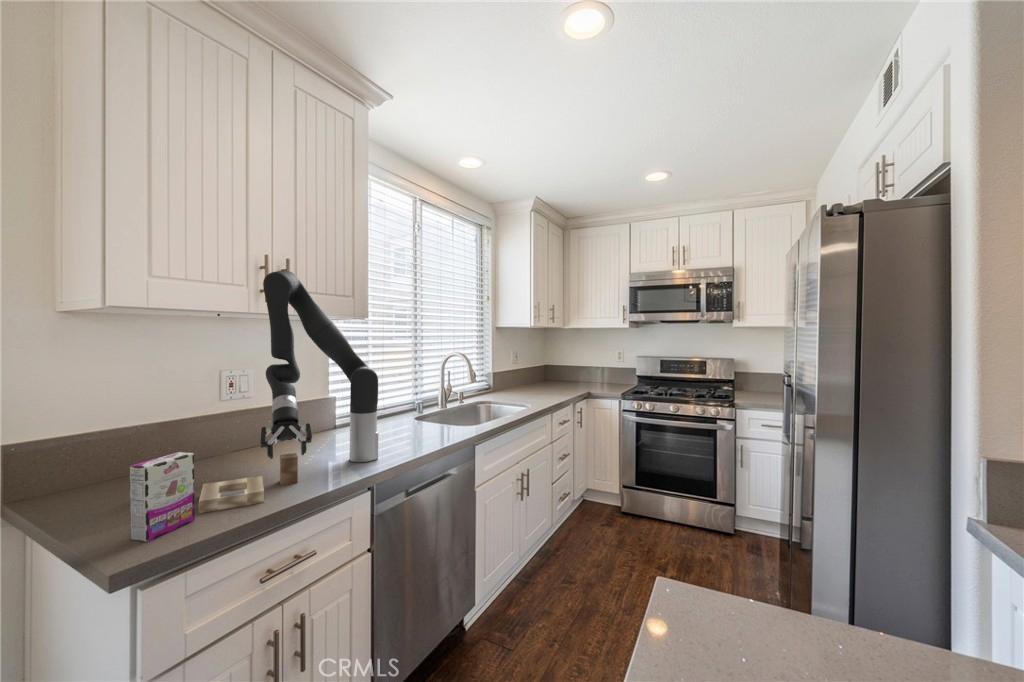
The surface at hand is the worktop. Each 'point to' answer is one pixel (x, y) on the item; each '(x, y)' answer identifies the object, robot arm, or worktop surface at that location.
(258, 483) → the socket plate
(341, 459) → the worktop surface
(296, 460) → the walnut post
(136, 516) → the candy bar box
